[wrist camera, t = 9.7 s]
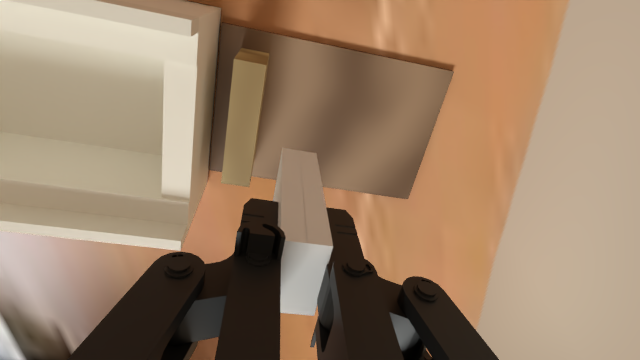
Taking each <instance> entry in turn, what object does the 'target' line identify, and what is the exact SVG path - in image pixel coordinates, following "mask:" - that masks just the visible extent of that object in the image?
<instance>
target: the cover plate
mask: <svg viewBox="0 0 640 360" xmlns="http://www.w3.org/2000/svg"><path fill="white" fill-rule="evenodd" d="M453 73H454V72H453V71H451V70H446V69H442V68H437V67H432V66H427V65H423V64H418V63H413V62H408V61H404V60H399V59H394V58H389V57H385V56H380V55H375V54H370V53H366V52H361V51H356V50H351V49H347V48H342V47H337V46H332V45H328V44H323V43H318V42H313V41H309V40H304V39H299V38H294V37H290V36H285V35H280V34H275V33H271V32H266V31H261V30H256V29H252V28H247V27H242V26H237V25H233V24H228V23H222V27H221V39H220V51H219V62H218V74H217V86H216V98H215V109H214V121H213V133H212V145H211V156H210V168H209V170H213V171H219V172H222V180H221V183H224V184H231V185H238V186H245V187H249V186H250V181H251V176H253V177H260V178H267V179H274V180H277V175H278V169H279V163H280V158H281V152H282V148H287V149H293V150H300V151H306V152H312V153H316V154H317V159H318V165H319V170H320V176H321V181H322V187H328V188H335V189H342V190H348V191H355V192H362V193H369V194H376V195H382V196H389V197H396V198H403V199H408V198H409V195H410V192H411V189H412V186H413V184H414V181H415V178H416V175H417V173H418V170H419V167H420V164H421V162H422V159H423V156H424V153H425V150H426V148H427V145H428V142H429V139H430V137H431V134H432V131H433V128H434V126H435V123H436V120H437V117H438V114H439V112H440V109H441V106H442V103H443V101H444V98H445V95H446V92H447V90H448V87H449V84H450V81H451V78H452V76H453Z"/></svg>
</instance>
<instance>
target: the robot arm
mask: <svg viewBox="0 0 640 360" xmlns="http://www.w3.org/2000/svg"><path fill="white" fill-rule="evenodd" d="M317 304H318V314H319V316H318V319H317V323H316V326H315V330H314V333H313V337H312V340H311V346H310V347H314V345H315V342H316V344H317V356H318V360H499V359H498V358H497V356H496V355H495V354H494V353H493V352H492V350H491V349H490V348H489V346H487V344H486V343H485V341H484V340H483V339H482V338H481V336H480V335H479V334H478V333H477V331H476V330H475V329H474V328H473V326H472V325H471V324H470V323H469V321H468V320H467V319H466V318H465V316H464V315H463V314H462V313H461V311H460V310H459V309H458V307H457V306H456V305H455V304H454V302H453V301H452V300H451V299H450V297H449V296H448V295H447V294H446V292H445V291H444V290H443V289H442V288H441V287H440V286H439V285H438V284H436V283H434V282H433V281H431V280H429V279H426V278H423V277H415V276H413V277H409V278H407V279H406V280H405V281H404V282H403V285H399V284H396V283H393V282H390V281H387V280H385V279H383V278H381V277H379V276H378V275H377V271H376V270H375V268H374V266H373V265H372V264H371V263H370V262H369V261H368V260H366V259H364V256H363V253H362V249H361V245H360V242H359V238H358V236H357V231H356V229H355V224H354V221H353V218H352V217H351V216H350V215H349V214H348V213H347V211H346V210H341V209H334V208H326V204H325V198H324V193H323V187H322V181H321V176H320V170H319V165H318V159H317V154H316V153H312V152H306V151H300V150H293V149H287V148H282V152H281V158H280V163H279V169H278V175H277V181H276V186H275V192H274V198H273V201H268V200H260V199H253V198H251V199H250V200H249V201H248V202H247V203H246V204H245V205H244V209H243V214H242V219H241V225H240V227H239V229H238V231H237V236H236V244H235V252H234V253H233V254H232V256H230V257H229V258H227V259H226V260H223V261H221V262H216V263H211V264H204V262H203V261H202V260H201V259H200V258H199V257H198V256H196V255H194V254H191V253H186V252H175V253H169V254H167V255H164V256H161V257H160V258H159V259H157V260H156V261H155V262H154V263H153V264H152V265H151V266H150V267H149V268H148V270H147V271H146V272H145V273H144V274H143V275H142V276H141V277H140V279H139V280H138V281H137V282H136V283H135V284H134V285H133V286H132V287H131V289H130V290H129V291H128V292H127V293H126V294H125V295H124V296H123V298H122V299H121V300H120V301H119V302H118V303H117V304H116V305H115V307H114V308H113V309H112V310H111V311H110V312H109V313H108V314H107V316H106V317H105V318H104V319H103V320H102V321H101V322H100V323H99V325H98V326H97V327H96V328H95V329H94V330H93V331H92V332H91V333H90V335H89V336H88V337H87V338H86V339H85V340H84V341H83V342H82V344H81V345H80V346H79V347H78V348H77V349H76V350H75V351H74V353H73V354H72V355H71V356H70V357H69V358H68V359H67V360H189V359H190V357H191V356H192V354H193V352H194V350H195V348H196V346H197V344H198V341H200V340H205V339H210V338H215V337H219V340H218V345H217V351H216V356H215V360H280V313H289V314H301V315H312V316H314V314H315V311H316V307H317ZM426 348H427V349H428V351H429V353H430V354H431V356H432V357H433V358H432V357H431V356H430V355H429V354H428V352H427V351H426Z"/></svg>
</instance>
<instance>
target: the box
mask: <svg viewBox="0 0 640 360" xmlns="http://www.w3.org/2000/svg"><path fill="white" fill-rule="evenodd" d="M220 20H221V8H219V7H214V6H209V5H204V4H200V3H195V2H190V1H186V0H0V231H4V232H14V233H23V234H32V235H41V236H50V237H59V238H69V239H78V240H87V241H96V242H105V243H114V244H124V245H133V246H142V247H151V248H160V249H170V250H179V251H181V248H182V246H183V243H184V241H185V238H186V235H187V233H188V230H189V228H190V225H191V223H192V220H193V218H194V215H195V213H196V210H197V208H198V205H199V202H200V200H201V197H202V195H203V192H204V190H205V187H206V185H207V182H208V170H209V157H210V145H211V132H212V120H213V107H214V95H215V82H216V70H217V57H218V45H219V32H220Z"/></svg>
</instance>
